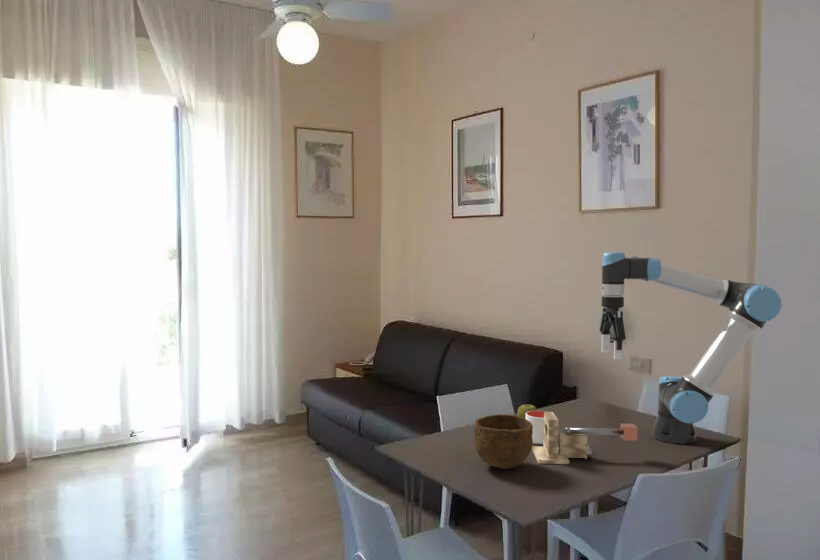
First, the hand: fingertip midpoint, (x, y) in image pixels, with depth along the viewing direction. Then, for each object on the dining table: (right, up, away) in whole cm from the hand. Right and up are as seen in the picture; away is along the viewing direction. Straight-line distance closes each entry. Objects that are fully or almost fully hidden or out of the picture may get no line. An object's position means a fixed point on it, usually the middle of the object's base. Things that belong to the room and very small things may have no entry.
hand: (611, 355), depth 228 cm
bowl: (-42, -34, -21) cm, 57 cm away
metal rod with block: (-8, -26, -12) cm, 30 cm away
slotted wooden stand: (-21, -33, -11) cm, 40 cm away
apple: (-25, -31, +29) cm, 49 cm away
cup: (-25, -32, +6) cm, 41 cm away
